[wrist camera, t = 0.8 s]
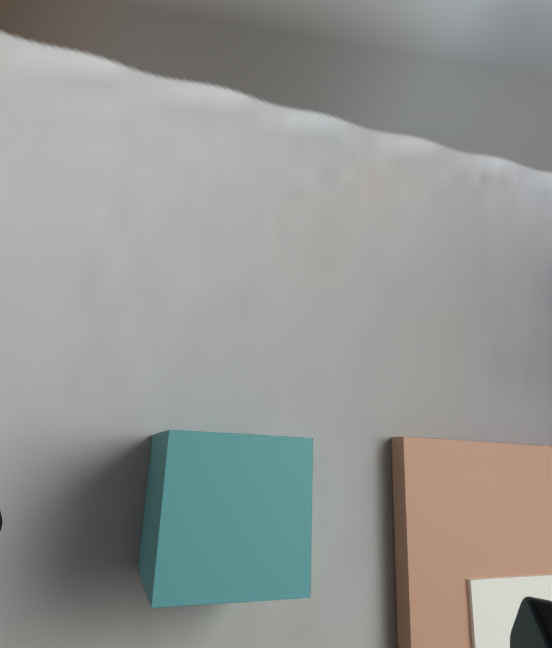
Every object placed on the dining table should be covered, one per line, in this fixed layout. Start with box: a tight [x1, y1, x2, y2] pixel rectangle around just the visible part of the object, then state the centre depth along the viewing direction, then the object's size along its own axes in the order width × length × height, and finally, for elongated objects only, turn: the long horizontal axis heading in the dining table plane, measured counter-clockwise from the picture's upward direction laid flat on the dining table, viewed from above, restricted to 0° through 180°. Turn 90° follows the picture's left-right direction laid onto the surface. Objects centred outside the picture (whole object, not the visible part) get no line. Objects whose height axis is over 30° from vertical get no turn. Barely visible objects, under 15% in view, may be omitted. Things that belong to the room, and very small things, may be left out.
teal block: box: [138, 430, 313, 608], centre depth 17 cm, size 5×5×5 cm
